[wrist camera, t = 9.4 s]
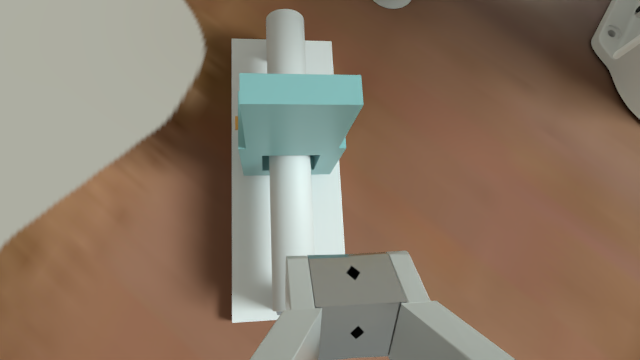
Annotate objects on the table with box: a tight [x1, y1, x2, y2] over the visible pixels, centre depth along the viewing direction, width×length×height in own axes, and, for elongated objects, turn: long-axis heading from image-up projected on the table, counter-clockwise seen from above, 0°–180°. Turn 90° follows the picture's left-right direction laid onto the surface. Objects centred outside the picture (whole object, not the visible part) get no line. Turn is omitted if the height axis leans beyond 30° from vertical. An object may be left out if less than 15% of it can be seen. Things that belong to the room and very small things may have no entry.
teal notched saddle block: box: [238, 73, 363, 176], centre depth 27 cm, size 4×7×14 cm, turn 93°
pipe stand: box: [232, 9, 345, 323], centre depth 32 cm, size 24×9×7 cm, turn 3°
